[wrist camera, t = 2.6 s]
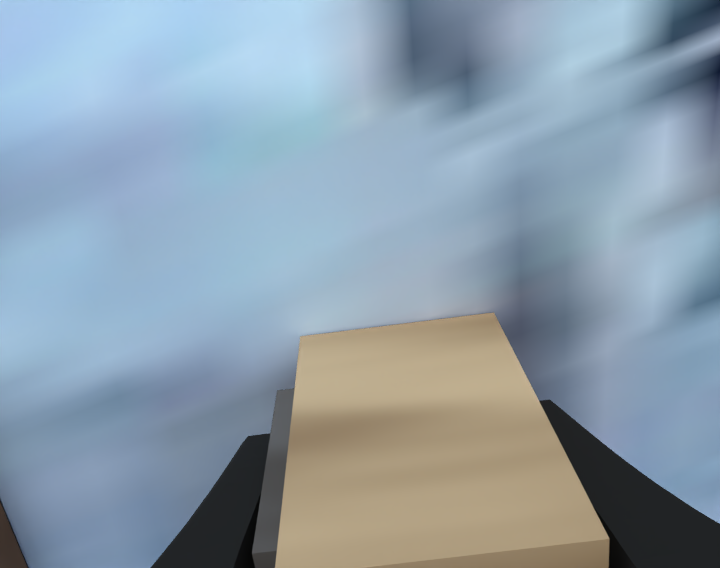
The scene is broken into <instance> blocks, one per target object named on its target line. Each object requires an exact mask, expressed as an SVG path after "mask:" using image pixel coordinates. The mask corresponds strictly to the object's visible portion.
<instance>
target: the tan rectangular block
mask: <svg viewBox="0 0 720 568" xmlns="http://www.w3.org/2000/svg"><path fill="white" fill-rule="evenodd" d="M609 540H610V539H609V537H608V535H607V533H606V531H605V529H604V527H603V525H602V523H601V521H600V519H599V517H598V515H597V513H596V511H595V509H594V508H593V506H592V504H591V502H590V500H589V498H588V496H587V494H586V492H585V490H584V488H583V486H582V484H581V482H580V480H579V478H578V476H577V474H576V472H575V470H574V468H573V467H572V465H571V463H570V461H569V459H568V457H567V455H566V453H565V451H564V449H563V447H562V445H561V443H560V441H559V439H558V437H557V435H556V433H555V431H554V429H553V427H552V425H551V424H550V422H549V420H548V418H547V416H546V414H545V412H544V410H543V408H542V406H541V404H540V402H539V400H538V398H537V396H536V394H535V392H534V390H533V388H532V386H531V384H530V382H529V381H528V379H527V377H526V375H525V373H524V371H523V369H522V367H521V365H520V363H519V361H518V359H517V357H516V355H515V353H514V351H513V349H512V347H511V345H510V343H509V341H508V340H507V338H506V336H505V334H504V332H503V330H502V328H501V326H500V324H499V322H498V320H497V318H496V316H495V314H494V313H486V314H478V315H470V316H462V317H454V318H446V319H438V320H429V321H421V322H413V323H405V324H397V325H389V326H381V327H373V328H364V329H356V330H348V331H340V332H332V333H324V334H316V335H308V336H300V344H299V354H298V363H297V372H296V381H295V388H293V389H285V390H277V394H276V401H275V407H274V414H273V420H272V427H271V433H270V440H269V446H268V453H267V459H266V465H265V472H264V478H263V485H262V491H261V498H260V504H259V511H258V517H257V524H256V530H255V537H254V543H253V549H252V556H253V560H254V564H255V568H609Z"/></svg>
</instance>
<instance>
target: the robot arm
mask: <svg viewBox="0 0 720 568" xmlns="http://www.w3.org/2000/svg"><path fill="white" fill-rule="evenodd" d="M539 402H540V404H541V406H542V408H543V410H544V412H545V414H546V416H547V418H548V420H549V422H550V424H551V425H552V427H553V429H554V431H555V433H556V435H557V437H558V439H559V441H560V443H561V445H562V447H563V449H564V451H565V453H566V455H567V457H568V459H569V461H570V463H571V465H572V467H573V468H574V470H575V472H576V474H577V476H578V478H579V480H580V482H581V484H582V486H583V488H584V490H585V492H586V494H587V496H588V498H589V500H590V502H591V504H592V506H593V508H594V509H595V511H596V513H597V515H598V517H599V519H600V521H601V523H602V525H603V527H604V529H605V531H606V533H607V535H608V537H609V539H610V540H609V568H720V524H719V523H717V522H715V521H714V520H712V519H710V518H709V517H707V516H705V515H704V514H702V513H700V512H699V511H697V510H696V509H694V508H692V507H691V506H689V505H688V504H686V503H685V502H683V501H682V500H680V499H679V498H677V497H676V496H674V495H673V494H671V493H670V492H668V491H667V490H665V489H664V488H662V487H661V486H659V485H658V484H656V483H655V482H653V481H652V480H651V479H649V478H648V477H647V476H645V475H644V474H642V473H641V472H640V471H638V470H637V469H636V468H634V467H633V466H632V465H630V464H629V463H628V462H626V461H625V460H624V459H622V458H621V457H620V456H618V455H617V454H616V453H614V452H613V451H612V450H611V449H609V448H608V447H607V446H606V445H604V444H603V443H602V442H601V441H599V440H598V439H597V438H596V437H594V436H593V435H592V434H591V433H590V432H588V431H587V430H586V429H585V428H584V427H582V426H581V425H580V424H579V423H577V422H576V421H575V420H574V419H573V418H571V417H570V416H569V415H568V414H567V413H565V412H564V411H563V410H562V409H561V408H559V407H558V406H557V405H556V404H554V403H553V402H552V401H551V400H543V401H539ZM269 440H270V434H262V435H253V436H248V437H247V438H246V439H245V441H244V442H243V443H242V445H241V446H240V448H239V449H238V451H237V452H236V454H235V455H234V457H233V458H232V460H231V461H230V463H229V464H228V466H227V467H226V469H225V470H224V472H223V473H222V475H221V476H220V478H219V479H218V481H217V482H216V483H215V485H214V486H213V488H212V489H211V491H210V492H209V493H208V495H207V496H206V498H205V499H204V500H203V502H202V503H201V504H200V506H199V507H198V509H197V510H196V511H195V513H194V514H193V515H192V517H191V518H190V520H189V521H188V522H187V524H186V525H185V526H184V527H183V529H182V530H181V531H180V532H179V534H178V535H177V536H176V537H175V539H174V540H173V541H172V542H171V544H170V545H169V546H168V547H167V548H166V550H165V551H164V552H163V553H162V555H161V556H160V557H159V558H158V560H157V561H156V562H155V563H154V564H153V566H152V567H151V568H255V564H254V560H253V556H252V549H253V543H254V537H255V530H256V524H257V517H258V511H259V504H260V498H261V491H262V485H263V478H264V472H265V465H266V459H267V453H268V446H269Z"/></svg>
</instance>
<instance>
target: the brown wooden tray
mask: <svg viewBox="0 0 720 568" xmlns="http://www.w3.org/2000/svg"><path fill="white" fill-rule="evenodd" d="M0 568H28V567H27V565H26V563H25V560H24V558H23V555H22V553H21V551H20V548H19V546H18V543H17V541H16V539H15V536H14V534H13V531H12V529H11V527H10V524H9V522H8V519H7V517H6V515H5V512H4V510H3V507H2V505H1V503H0Z"/></svg>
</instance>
